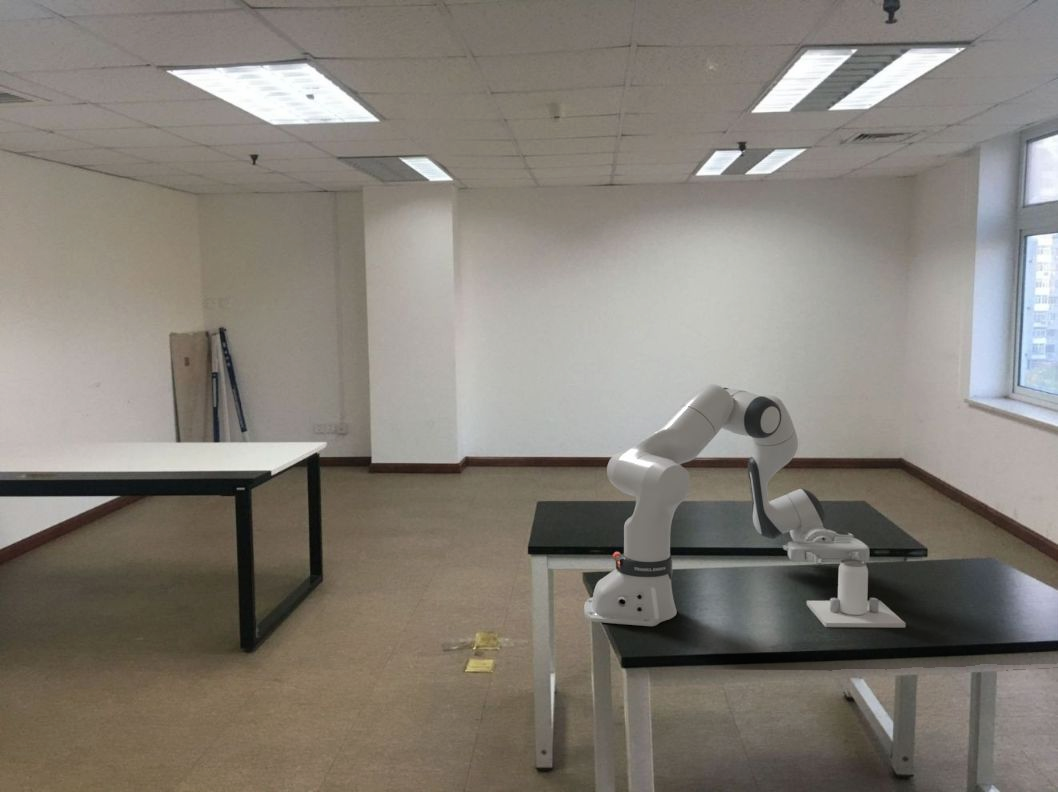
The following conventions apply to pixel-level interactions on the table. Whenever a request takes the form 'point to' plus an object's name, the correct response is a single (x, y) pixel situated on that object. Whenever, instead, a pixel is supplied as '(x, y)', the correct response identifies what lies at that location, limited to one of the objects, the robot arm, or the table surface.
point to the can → (853, 587)
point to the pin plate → (873, 617)
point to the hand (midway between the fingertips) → (837, 560)
